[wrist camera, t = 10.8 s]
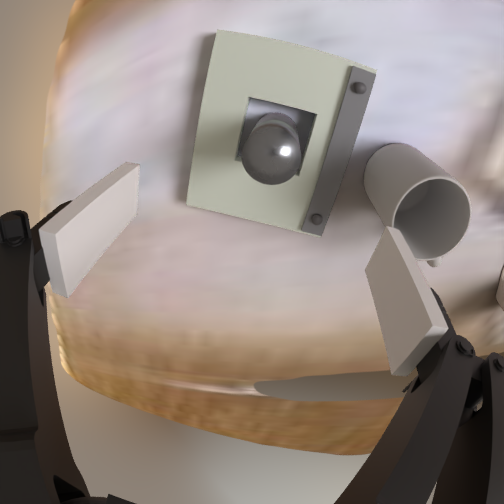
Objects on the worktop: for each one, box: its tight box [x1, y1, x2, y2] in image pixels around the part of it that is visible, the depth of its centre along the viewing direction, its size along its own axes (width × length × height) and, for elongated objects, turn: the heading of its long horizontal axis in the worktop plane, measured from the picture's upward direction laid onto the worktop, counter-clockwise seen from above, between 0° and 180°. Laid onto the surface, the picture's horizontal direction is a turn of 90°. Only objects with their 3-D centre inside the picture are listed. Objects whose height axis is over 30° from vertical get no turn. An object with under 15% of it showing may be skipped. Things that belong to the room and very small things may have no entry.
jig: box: [186, 30, 377, 238], centre depth 30 cm, size 20×16×3 cm
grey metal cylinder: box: [241, 112, 301, 185], centre depth 27 cm, size 5×5×10 cm
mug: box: [364, 143, 471, 267], centre depth 28 cm, size 12×8×11 cm
